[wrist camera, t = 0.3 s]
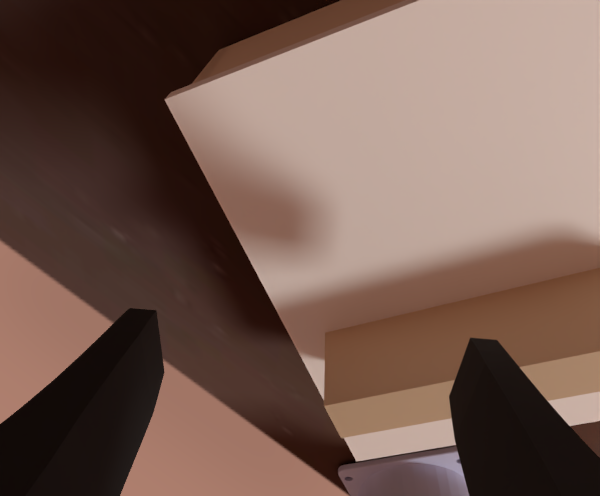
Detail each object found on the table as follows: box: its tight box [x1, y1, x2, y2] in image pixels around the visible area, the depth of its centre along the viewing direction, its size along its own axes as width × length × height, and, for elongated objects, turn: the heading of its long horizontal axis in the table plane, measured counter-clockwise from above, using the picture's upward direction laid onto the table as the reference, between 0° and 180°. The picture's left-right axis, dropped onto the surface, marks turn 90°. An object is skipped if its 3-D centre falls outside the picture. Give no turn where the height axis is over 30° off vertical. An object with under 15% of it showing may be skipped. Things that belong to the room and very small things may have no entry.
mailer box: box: [192, 0, 405, 84], centre depth 18 cm, size 16×12×5 cm
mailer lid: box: [164, 0, 600, 462], centre depth 14 cm, size 16×12×4 cm
